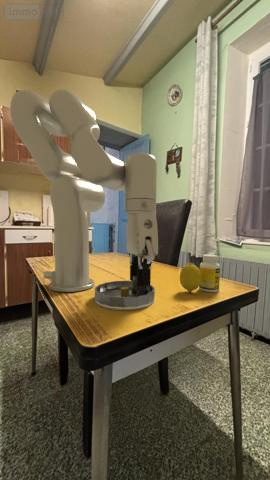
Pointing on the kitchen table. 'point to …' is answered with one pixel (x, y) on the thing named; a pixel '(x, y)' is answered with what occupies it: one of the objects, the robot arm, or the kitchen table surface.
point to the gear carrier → (122, 296)
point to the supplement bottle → (210, 274)
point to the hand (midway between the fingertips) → (139, 282)
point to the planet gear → (138, 288)
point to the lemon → (190, 277)
